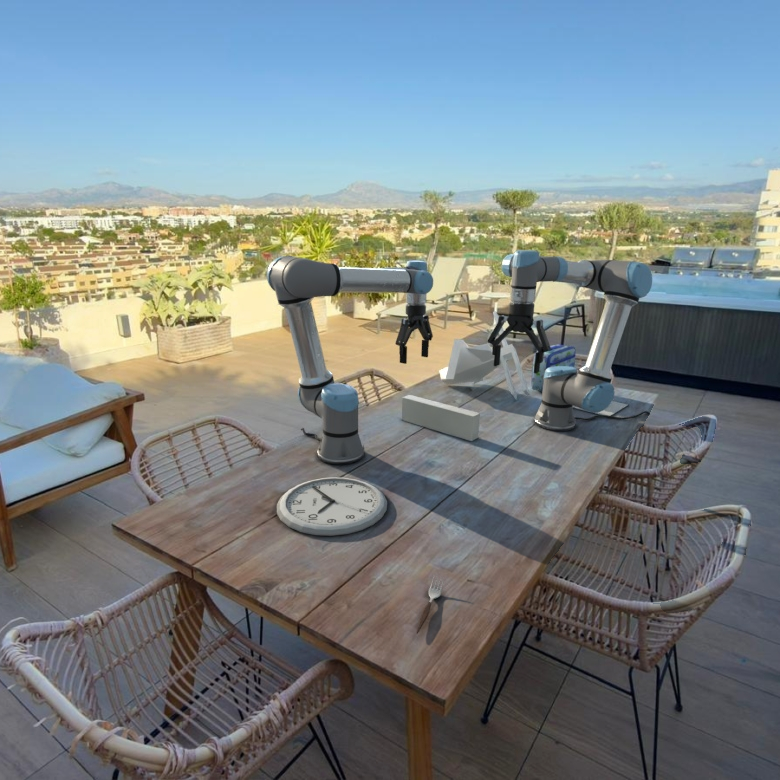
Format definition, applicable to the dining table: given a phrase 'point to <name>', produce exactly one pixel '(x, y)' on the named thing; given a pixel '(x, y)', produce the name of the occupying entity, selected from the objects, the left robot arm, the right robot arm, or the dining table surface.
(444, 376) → the white plastic object
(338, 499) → the wall clock
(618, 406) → the invitation card
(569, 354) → the lunch box
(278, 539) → the dining table surface
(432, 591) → the fork
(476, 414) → the bar
